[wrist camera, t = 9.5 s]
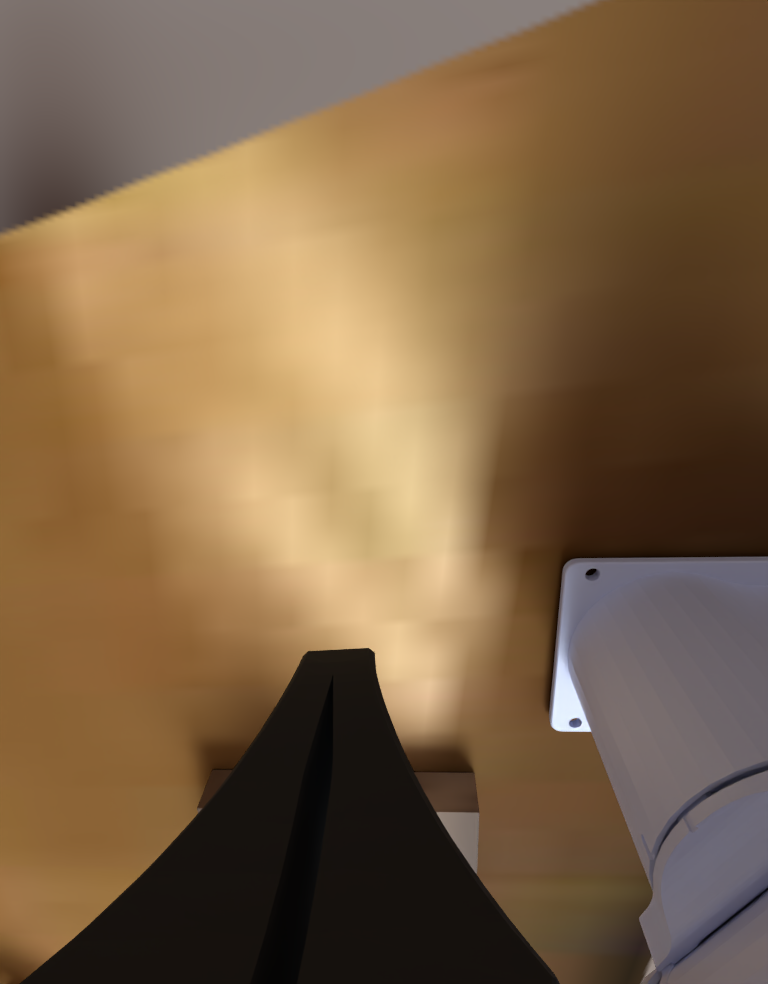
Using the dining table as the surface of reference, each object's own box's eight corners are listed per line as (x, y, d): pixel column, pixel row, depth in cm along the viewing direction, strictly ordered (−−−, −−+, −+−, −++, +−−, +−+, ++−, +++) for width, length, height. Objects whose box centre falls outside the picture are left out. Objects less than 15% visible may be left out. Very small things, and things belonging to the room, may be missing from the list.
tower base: (474, 772, 25) (485, 859, 22) (468, 941, 30) (476, 1037, 26) (212, 769, 26) (179, 853, 22) (245, 935, 30) (221, 1028, 27)
